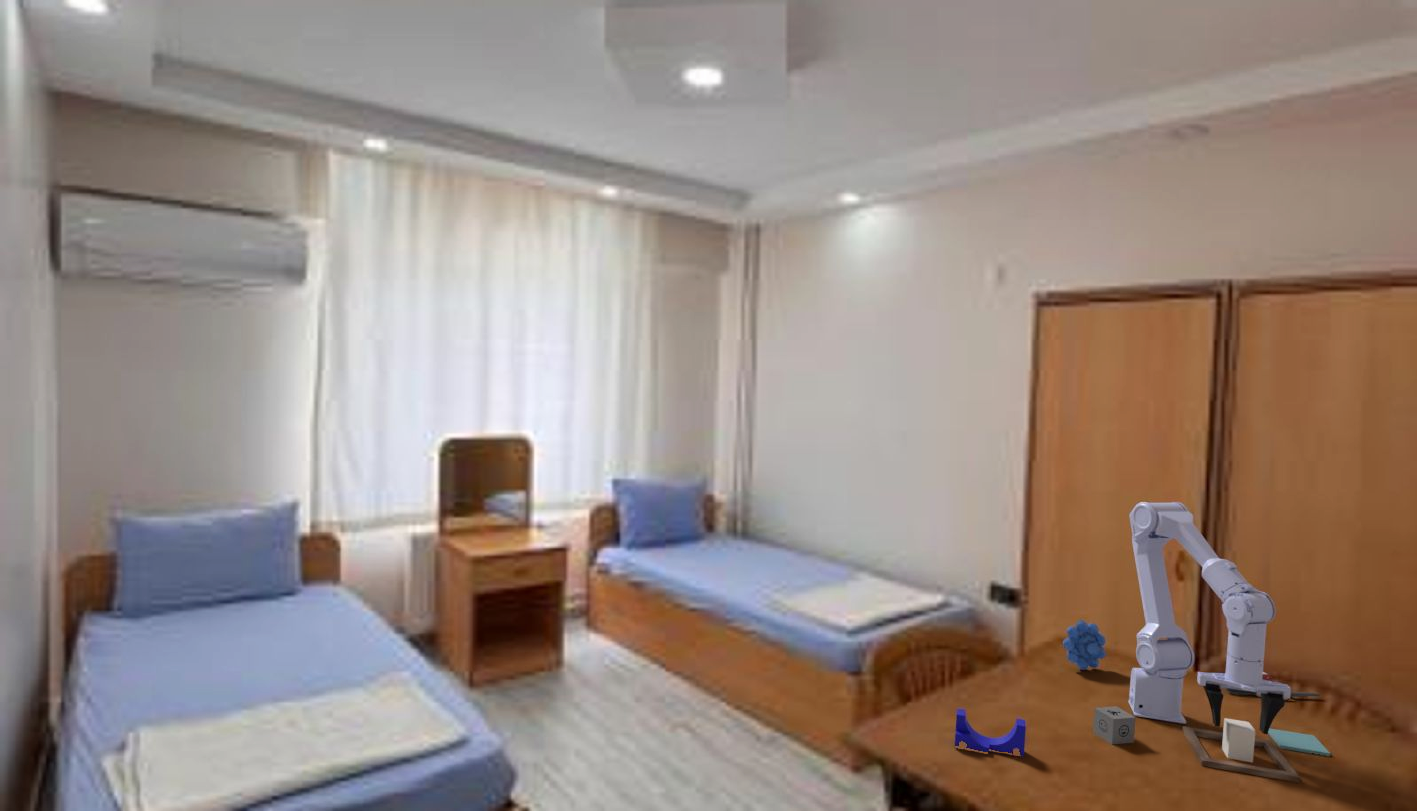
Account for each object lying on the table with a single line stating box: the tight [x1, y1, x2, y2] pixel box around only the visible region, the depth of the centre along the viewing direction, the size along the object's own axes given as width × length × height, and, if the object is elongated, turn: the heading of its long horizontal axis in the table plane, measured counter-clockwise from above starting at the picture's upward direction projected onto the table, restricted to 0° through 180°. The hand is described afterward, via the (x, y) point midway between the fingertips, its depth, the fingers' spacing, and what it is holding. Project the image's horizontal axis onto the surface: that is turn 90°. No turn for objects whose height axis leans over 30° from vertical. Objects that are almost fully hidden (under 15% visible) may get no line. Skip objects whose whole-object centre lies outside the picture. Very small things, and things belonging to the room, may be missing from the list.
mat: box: [1268, 727, 1331, 757], centre depth 157 cm, size 8×8×1 cm
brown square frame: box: [1182, 726, 1301, 784], centre depth 151 cm, size 15×15×1 cm
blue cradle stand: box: [954, 707, 1027, 757], centre depth 149 cm, size 12×4×6 cm, turn 71°
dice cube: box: [1092, 706, 1137, 745], centre depth 156 cm, size 5×5×5 cm
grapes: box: [1062, 619, 1107, 671], centre depth 191 cm, size 12×7×12 cm, turn 104°
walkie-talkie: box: [1221, 671, 1320, 701], centre depth 183 cm, size 9×4×20 cm
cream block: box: [1221, 717, 1256, 763], centre depth 151 cm, size 4×4×6 cm
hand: (1239, 728), depth 151 cm, fingers open, 7 cm apart
